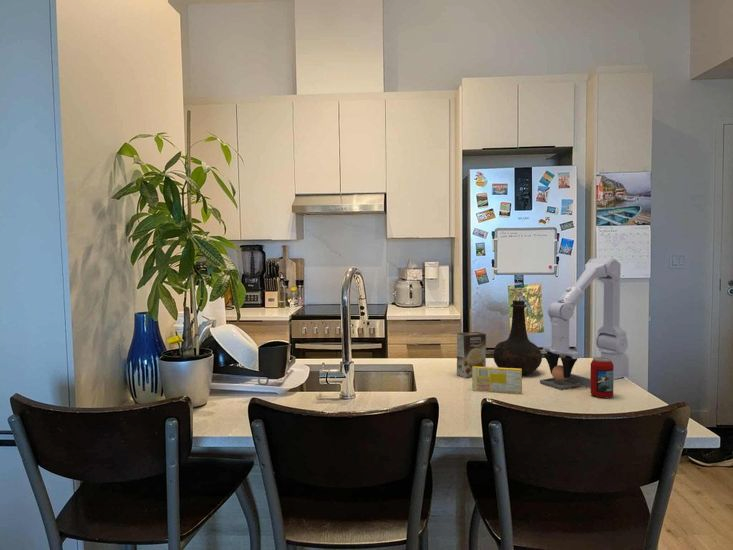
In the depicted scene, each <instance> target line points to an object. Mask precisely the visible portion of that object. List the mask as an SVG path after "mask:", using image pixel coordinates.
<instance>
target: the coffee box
mask: <svg viewBox="0 0 733 550" xmlns="http://www.w3.org/2000/svg"><path fill="white" fill-rule="evenodd" d="M486 347H487V334H486V333H483V332H478V331H473V332H472V331H471V332H469V331H468V332H457V333H456V375H457V374H458V375H457V376H459V375H460V377H461V376H462V378H463V377H464V379H468V378H467V377H471V378H472V367H473V366H477V367H487V366H486V365H487V363H486V362H487V361H486V359H487V357H486V356H487V355H486V354H487V352H486V351H487V350H486V349H487V348H486Z"/></svg>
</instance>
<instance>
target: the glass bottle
mask: <svg viewBox="0 0 733 550" xmlns="http://www.w3.org/2000/svg"><path fill="white" fill-rule="evenodd" d="M527 306H528V305H526V304H525V300H516V299H515V300H512V304H510V307H511V308H512V314H511V326H510V331H509V332H510V333H509V336H508V338H507V339H506V340H504V341H500V342H498V343H497V344H496V345H495V347H494V349H493V353H492V354H493V355H492V356H493V361H494V363H495V365H496V366H497V368H517V369H522V376H527V375H530V374H532V373H535V371H537V370H538V368H540V366H541V364H542V361H543V355H542V351H541V349H540V347H538V345H537V344H535V343H533V342H532V341H530V339H529V337H528V333H527V326H526V313H525V310H526V309H525V308H527Z"/></svg>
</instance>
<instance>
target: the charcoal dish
mask: <svg viewBox="0 0 733 550" xmlns="http://www.w3.org/2000/svg"><path fill="white" fill-rule="evenodd" d="M540 383H541V385H544V386H547V385H548V387H550V386H551V388H553V387H554V389H557V390H560V389H561V390H560V391H564V389H565V390H570V389H569V388H571V389H574V387H576V388H580V387H579V386H581V383H579V382H575V381H572V380H568V379H566V380H564V381H557V380H555V379H554V377H551V378H549V377H548V378H544V379H539V384H540ZM581 387H582V386H581Z"/></svg>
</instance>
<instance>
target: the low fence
mask: <svg viewBox="0 0 733 550" xmlns="http://www.w3.org/2000/svg"><path fill="white" fill-rule="evenodd" d="M567 379H568V380H572V381H575V382H579V383H581V385H582V386H581V387H584V386H586V387H585V388H587V387H589V388H588V389H590V377H587V376H586V377H585V376H581V375H577V374H575V373H571V375H570V377H569V378H567Z"/></svg>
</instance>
